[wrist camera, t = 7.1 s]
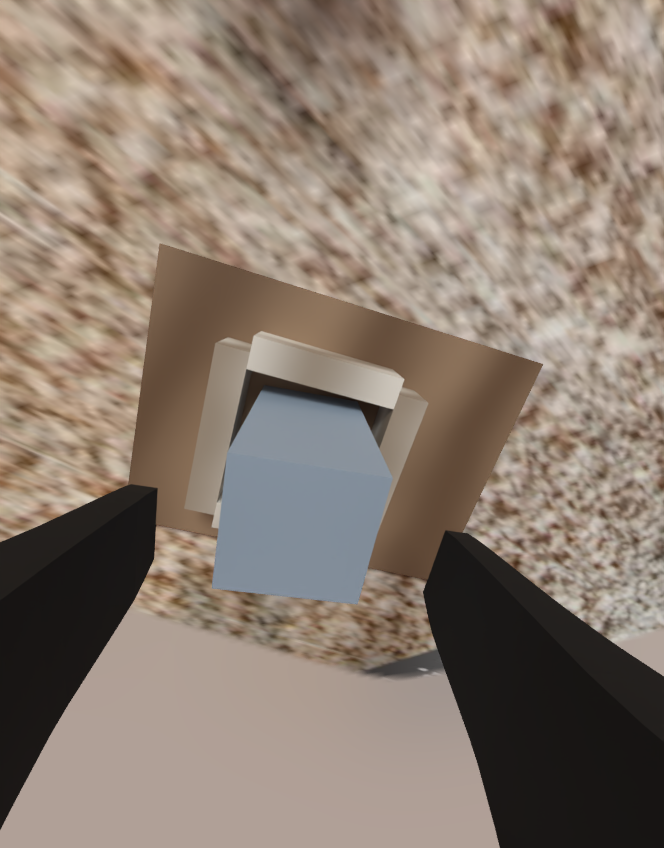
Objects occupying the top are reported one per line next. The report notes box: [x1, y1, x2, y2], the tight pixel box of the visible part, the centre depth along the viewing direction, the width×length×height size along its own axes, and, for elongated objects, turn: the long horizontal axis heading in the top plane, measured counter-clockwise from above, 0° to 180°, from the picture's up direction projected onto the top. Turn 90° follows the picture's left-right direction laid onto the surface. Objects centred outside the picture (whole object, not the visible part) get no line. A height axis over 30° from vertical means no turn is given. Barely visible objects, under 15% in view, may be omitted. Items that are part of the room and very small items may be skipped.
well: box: [128, 244, 543, 580], centre depth 15 cm, size 16×12×3 cm
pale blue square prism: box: [212, 385, 393, 604], centre depth 12 cm, size 4×4×7 cm
